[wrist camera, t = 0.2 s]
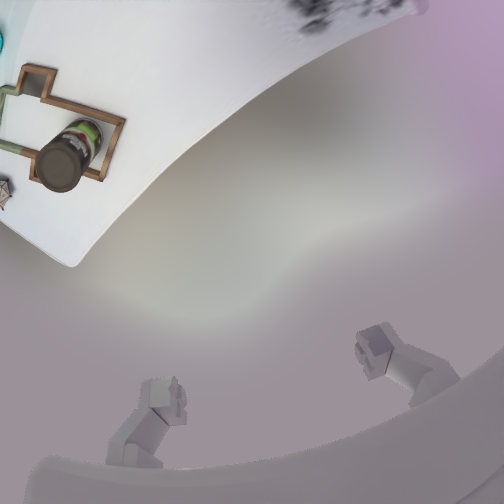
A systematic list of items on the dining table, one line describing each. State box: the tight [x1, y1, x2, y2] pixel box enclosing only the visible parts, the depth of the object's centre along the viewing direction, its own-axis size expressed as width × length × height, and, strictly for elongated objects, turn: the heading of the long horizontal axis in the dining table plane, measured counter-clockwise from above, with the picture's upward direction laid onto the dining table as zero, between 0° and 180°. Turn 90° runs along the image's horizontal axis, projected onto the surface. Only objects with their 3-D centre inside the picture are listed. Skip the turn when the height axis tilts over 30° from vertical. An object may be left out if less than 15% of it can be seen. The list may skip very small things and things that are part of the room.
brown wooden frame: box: [0, 64, 126, 184], centre depth 41 cm, size 27×35×2 cm
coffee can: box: [35, 118, 103, 193], centre depth 42 cm, size 10×10×14 cm
